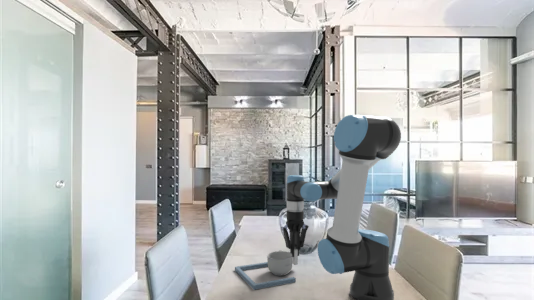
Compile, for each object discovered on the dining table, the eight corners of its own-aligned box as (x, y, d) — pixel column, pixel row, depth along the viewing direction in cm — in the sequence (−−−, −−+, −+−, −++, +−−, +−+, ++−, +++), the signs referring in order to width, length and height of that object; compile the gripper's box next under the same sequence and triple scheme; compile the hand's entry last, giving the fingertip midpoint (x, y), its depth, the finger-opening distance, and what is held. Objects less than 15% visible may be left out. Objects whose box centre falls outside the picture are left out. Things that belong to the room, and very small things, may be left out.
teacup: (289, 279, 129) (289, 259, 129) (263, 276, 132) (264, 257, 132) (295, 267, 143) (295, 249, 143) (272, 265, 145) (272, 247, 145)
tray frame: (295, 282, 126) (295, 278, 126) (253, 289, 119) (253, 285, 119) (272, 264, 146) (272, 261, 146) (234, 270, 138) (234, 266, 138)
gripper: (303, 207, 146) (303, 259, 146) (278, 209, 141) (277, 263, 141) (312, 210, 139) (311, 264, 139) (286, 212, 134) (285, 268, 134)
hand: (294, 263), depth 140 cm, fingers closed
